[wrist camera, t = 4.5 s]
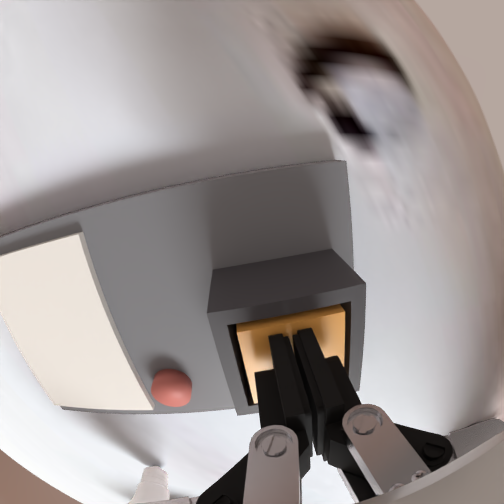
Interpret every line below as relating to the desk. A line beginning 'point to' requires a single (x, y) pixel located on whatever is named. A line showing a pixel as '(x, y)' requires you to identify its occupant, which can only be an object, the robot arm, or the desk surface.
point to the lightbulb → (152, 486)
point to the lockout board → (179, 287)
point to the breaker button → (290, 337)
